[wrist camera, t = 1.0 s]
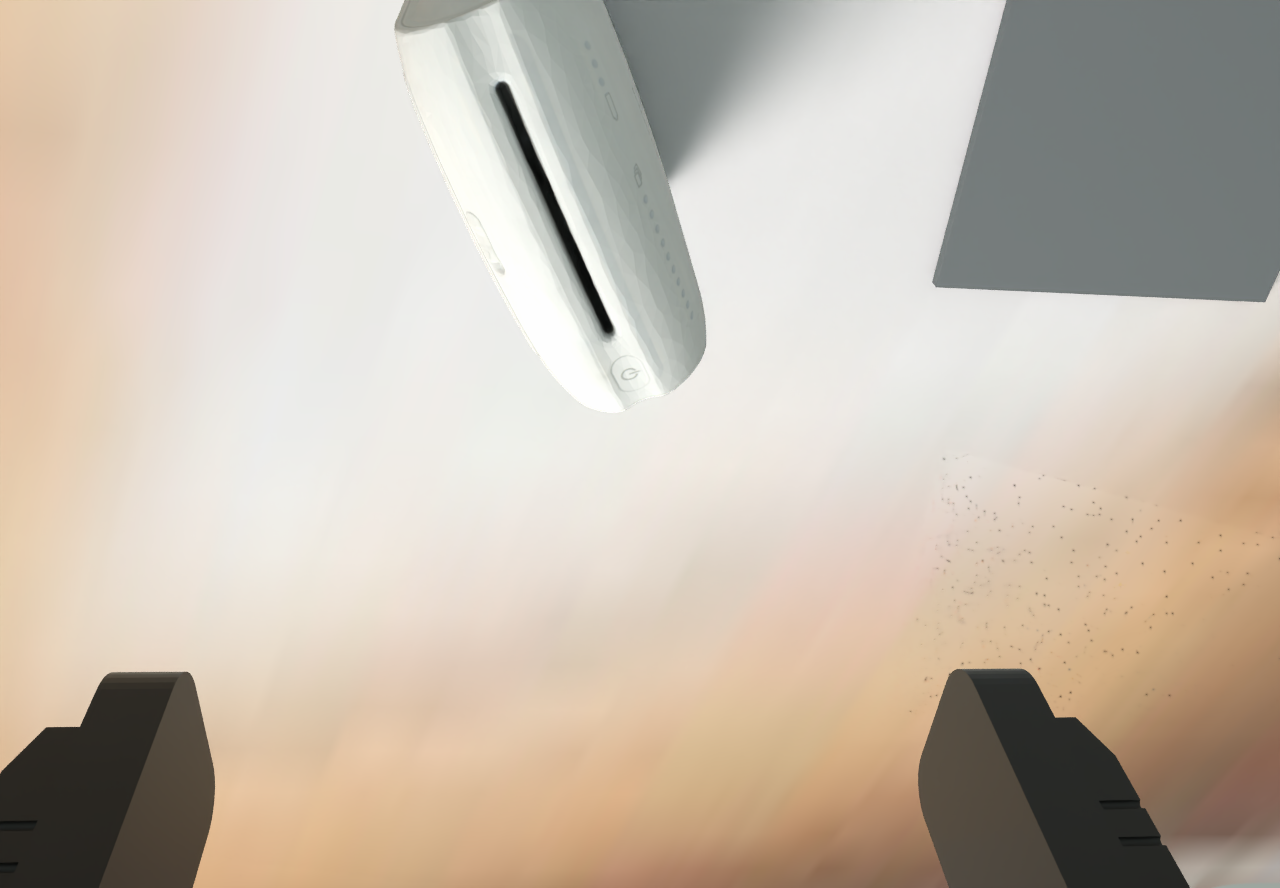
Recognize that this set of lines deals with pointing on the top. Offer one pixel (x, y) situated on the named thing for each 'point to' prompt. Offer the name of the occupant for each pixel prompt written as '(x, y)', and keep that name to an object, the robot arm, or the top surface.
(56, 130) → the top surface
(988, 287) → the slate pad
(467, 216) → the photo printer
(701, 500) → the top surface
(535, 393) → the top surface
